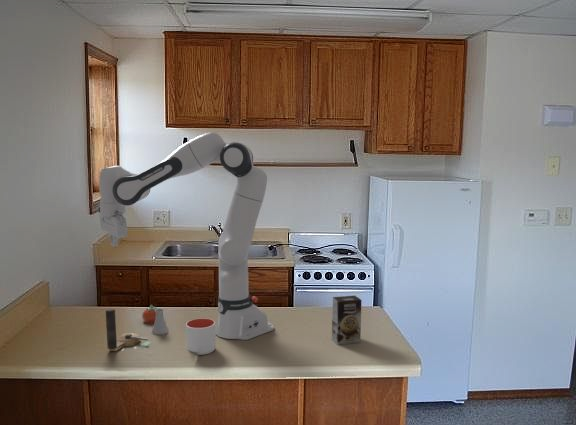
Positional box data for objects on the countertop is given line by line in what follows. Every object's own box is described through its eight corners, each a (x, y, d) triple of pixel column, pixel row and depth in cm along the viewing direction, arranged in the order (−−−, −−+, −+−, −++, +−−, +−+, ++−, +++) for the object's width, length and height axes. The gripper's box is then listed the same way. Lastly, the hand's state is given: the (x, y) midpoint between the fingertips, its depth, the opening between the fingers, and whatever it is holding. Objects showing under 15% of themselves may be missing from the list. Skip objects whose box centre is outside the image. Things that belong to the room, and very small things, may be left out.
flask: (164, 339, 195) (163, 313, 193) (146, 338, 196) (145, 312, 195) (173, 332, 202) (172, 307, 200) (155, 331, 203) (154, 305, 202)
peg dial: (126, 336, 194) (124, 298, 192) (154, 340, 190) (152, 301, 188) (99, 351, 181) (97, 310, 178) (129, 356, 177) (127, 314, 174)
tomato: (159, 327, 207) (158, 307, 206) (140, 327, 207) (139, 307, 206) (163, 320, 214) (163, 301, 213) (145, 320, 214) (144, 301, 213)
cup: (185, 346, 188) (184, 319, 187) (213, 343, 191) (212, 317, 190) (188, 358, 179) (187, 329, 177) (218, 354, 182) (217, 326, 180)
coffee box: (337, 345, 189) (338, 301, 187) (331, 338, 196) (331, 296, 193) (361, 342, 192) (362, 299, 190) (354, 336, 198) (355, 294, 196)
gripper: (130, 212, 191) (132, 249, 193) (112, 206, 207) (114, 240, 209) (113, 213, 187) (115, 252, 189) (96, 207, 203) (98, 242, 205)
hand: (114, 246), depth 199 cm, fingers closed
